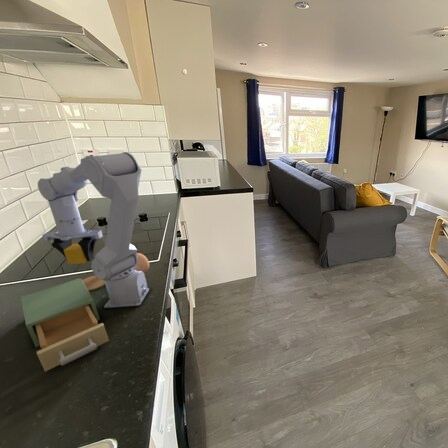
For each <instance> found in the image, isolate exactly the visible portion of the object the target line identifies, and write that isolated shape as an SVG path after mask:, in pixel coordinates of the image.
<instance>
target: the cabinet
mask: <svg viewBox="0 0 448 448" xmlns="http://www.w3.org/2000/svg"><path fill="white" fill-rule="evenodd" d="M82 280H83V279H82V278H81V277H79V278H76V279H73V280H70V281H67V282H63V283H61V284H57V285H55V286H51V287H48V288H45V289H42V290H39V291H35V292H33V293H29V294H26V295H23V296H20V298H19V299H20V303H21V307H22V308H21V309H22V312H23V318H24V323H25V326H26V329H27V332H28V333H29V336H30V338H31V340H32V343H33V344H34V347H35V348H38V347H41V346H40V342H39V338H38V334H37V330H36V326H35V325H36V324H39V323H41V322H44V321H46V320H49V319H52V318H54V317H57V316H60V315H62V314H65V313H67V312H70V311H73V310H75V309H78V308H80V307H83V306H86V305H88V306H89V307H90V309H91V311H92V313H93V315H94V316H95V318H96V320H97V322H98V321H100V320H101V319H100V316H99V312H98V310H97V306H96V304H95V303H96V302H95V300H94V298H93V296H92V295H91V292H90V291H88V290H87V288H86V286H85V285H84V283H83V281H82Z"/></svg>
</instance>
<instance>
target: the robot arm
mask: <svg viewBox="0 0 448 448" xmlns="http://www.w3.org/2000/svg"><path fill="white" fill-rule="evenodd" d="M141 175H142V168H141V167H140V164H139V163H138V160H137V159H136V157H135V156H134V155H133V154H132V153H130V152H128V151H125V152H124V151H123V152H121V153H111V154H101V155H86V156H85V157H83V158H81V159H80V163H79V164H78V165H77V166H75V167H70V166H62V167H61V168H60V171H58V172H55V173H53V174H52V176H51V177H50V178H40V179H38V181H37V189H38V191H39V193H40V195H41V196H42V197H43V199H45V200H46V201H47V202H48V205H49V208H50V211H51V214H52V216H53V220H54V222H55V225H56V228H57V231H47V232H44V233H42V234H41V236H42V238H43V241H44V242H48V241H51V240H52V242H51V243H50V244H51V247H53V248H55V249H56V250H57V251H58V252H59V253H61V255H63V257H64V258H65V259H66V256H65V253H64V251H63V250H65V249H66V248H68V247H69V246H71V245H72V244H73V240H80V241H78V242H77V243H78V244H79V245H80V247H81V248H82V250H83V252H84V254H85V257H86V259H87V262H90V261H91V265H90V268H91V271H92V273H93V274H94V275H96V277H98V278H99V279H102V280H104V281H105V288H106V292H107V295H108V298H109V299H108V301H107V302H106V303H105V304H104V305H103V308H104V309H112V308H124V307H125V308H126V307H138V306H139V307H140V305H141V304H142V303H143V301H144V299H145V298H146V296H147V294H148V293H149V291H150V288H148V283H147V279H146V278H147V277H146V273H145V274H144V273H143V272H142V271H136V270H134V269H135V265H136V264H137V263H138V256H137V253H138V249H137V248H136V246H135V245H134V244H132V243H131V242H132V235H133V230H134V226H135V219H136V215H137V209H138V203H139V185H140V180H141ZM88 181H89V182H90V184H91V185H92V186H93V188H95V189H96V191H97V192H98V193H99V194H100V195H101V197H103V198H107V199H110V205H109V213H108V221H107V228H106V237H105V245H104V246H103V247H102V248H101V249H100V250H99V251H97V252H96V253H95V255H94V251H95V244H96V242H97V240H100V239H102V238H103V232H102V230H96V229H95V230H94V229H87V228H85V227H84V223H83V221H82V216H81V214H80V210H79V207H78V204H77V202H78V200H79V199H78V191H79V190H81V189H84V188H85V187H86V186H87V185H88ZM93 255H94V256H93Z"/></svg>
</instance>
